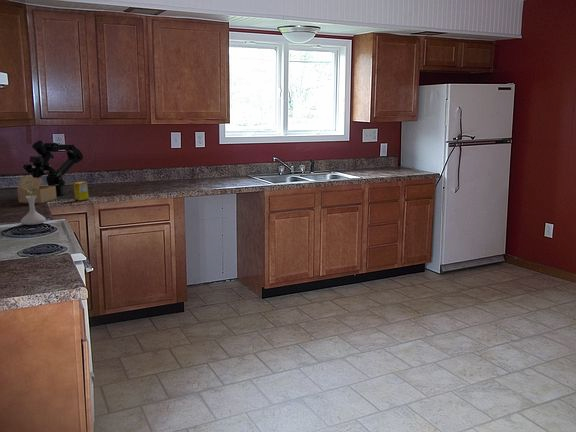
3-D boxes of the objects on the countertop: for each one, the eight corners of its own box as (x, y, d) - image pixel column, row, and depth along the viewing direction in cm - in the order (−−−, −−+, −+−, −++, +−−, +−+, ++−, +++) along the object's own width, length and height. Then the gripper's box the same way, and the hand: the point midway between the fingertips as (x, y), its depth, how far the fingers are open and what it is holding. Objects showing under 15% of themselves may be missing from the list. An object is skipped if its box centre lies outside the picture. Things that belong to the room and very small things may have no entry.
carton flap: (21, 177, 334) (20, 176, 333) (41, 178, 330) (41, 177, 329) (18, 188, 332) (17, 188, 331) (38, 189, 328) (37, 189, 327)
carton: (35, 197, 348) (34, 185, 346) (57, 199, 343) (56, 186, 341) (18, 202, 334) (16, 188, 332) (40, 203, 330) (39, 190, 328)
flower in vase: (19, 223, 281) (13, 173, 276) (43, 220, 288) (38, 171, 282) (24, 228, 271) (18, 176, 265) (49, 225, 277) (44, 174, 272)
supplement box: (83, 199, 344) (82, 181, 341) (89, 200, 340) (87, 182, 338) (74, 200, 339) (73, 182, 337) (80, 201, 335) (78, 183, 333)
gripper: (23, 150, 337) (11, 171, 329) (49, 151, 332) (38, 172, 324) (34, 162, 346) (22, 182, 338) (59, 163, 341) (49, 184, 333)
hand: (32, 180), depth 333 cm, fingers closed
